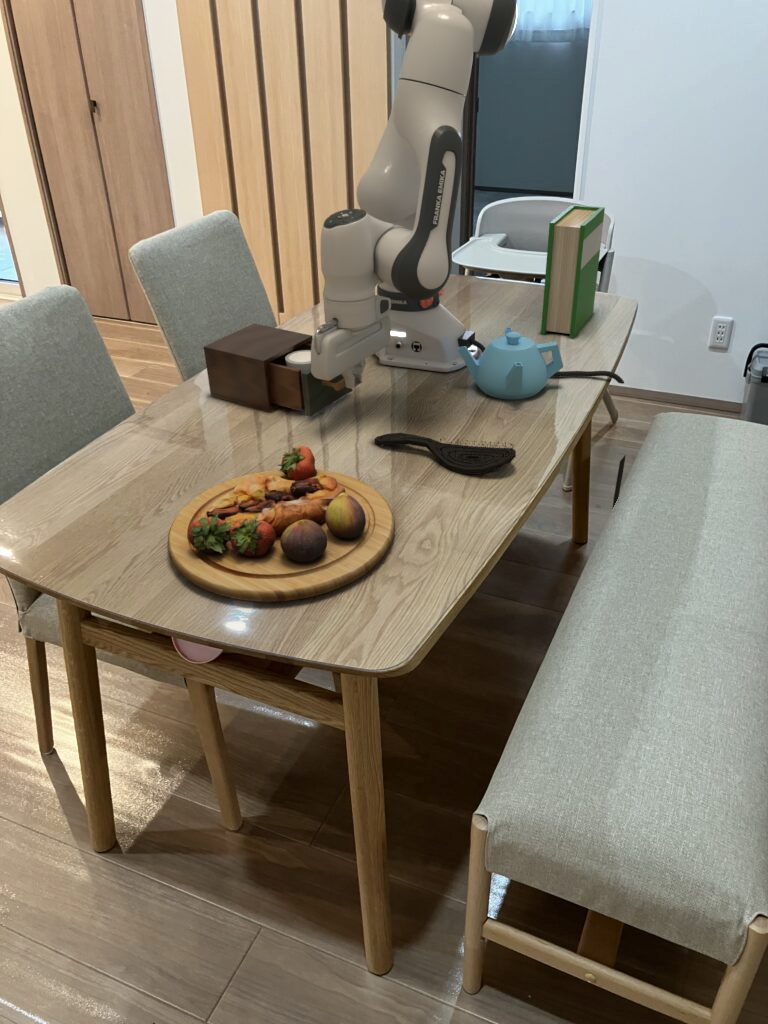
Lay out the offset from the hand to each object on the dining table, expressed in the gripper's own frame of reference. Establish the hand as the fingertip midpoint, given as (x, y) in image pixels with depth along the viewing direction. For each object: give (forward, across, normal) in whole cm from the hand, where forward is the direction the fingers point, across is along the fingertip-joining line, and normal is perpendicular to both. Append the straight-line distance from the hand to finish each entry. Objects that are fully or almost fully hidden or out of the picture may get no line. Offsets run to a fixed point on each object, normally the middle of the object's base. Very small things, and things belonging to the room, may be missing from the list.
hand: (353, 385), depth 149 cm
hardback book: (+6, +63, -16) cm, 66 cm away
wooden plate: (+6, -39, -14) cm, 41 cm away
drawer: (+5, 0, +10) cm, 11 cm away
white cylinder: (+4, 0, +11) cm, 12 cm away
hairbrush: (+6, -7, -22) cm, 24 cm away
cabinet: (+6, 0, +22) cm, 22 cm away
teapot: (+6, +24, -20) cm, 32 cm away
